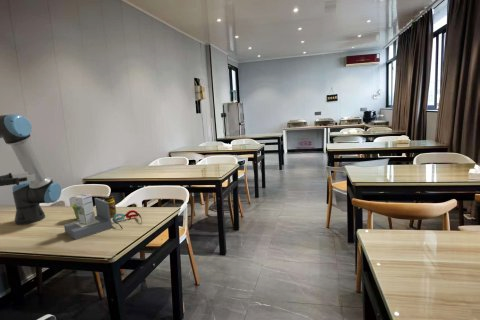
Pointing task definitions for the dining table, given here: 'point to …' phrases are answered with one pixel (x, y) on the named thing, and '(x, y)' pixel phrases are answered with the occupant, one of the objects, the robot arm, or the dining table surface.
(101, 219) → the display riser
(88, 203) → the syrup box
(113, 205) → the condiment
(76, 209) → the plant pot
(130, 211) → the novelty glasses
